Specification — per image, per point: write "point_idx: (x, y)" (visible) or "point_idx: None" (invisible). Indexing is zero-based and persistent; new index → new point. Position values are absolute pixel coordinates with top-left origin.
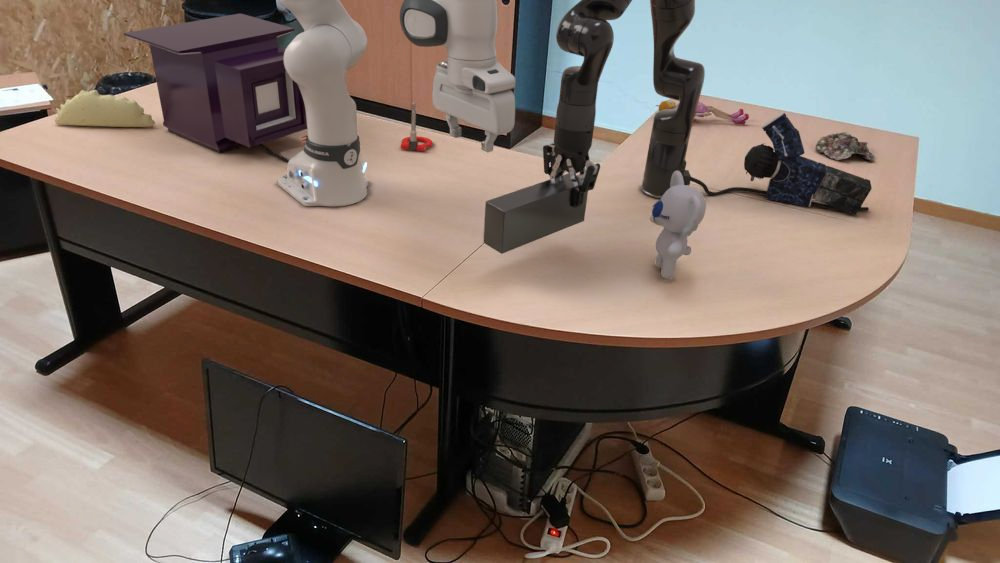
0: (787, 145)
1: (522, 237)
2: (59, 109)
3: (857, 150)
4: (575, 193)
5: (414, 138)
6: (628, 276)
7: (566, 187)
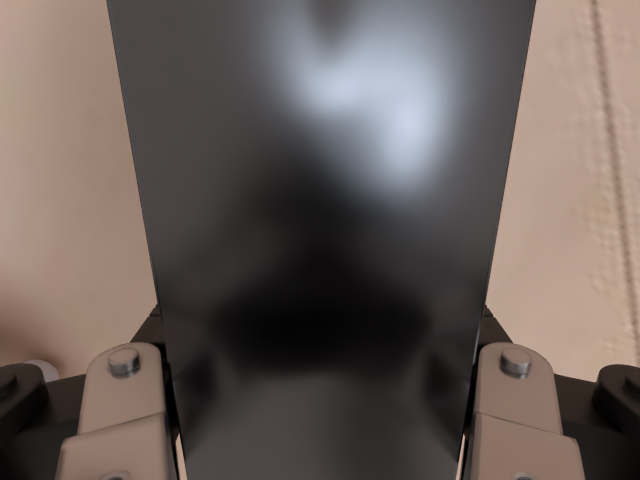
0: None
1: None
2: None
3: None
4: (159, 332)
5: None
6: (45, 252)
7: (199, 300)
